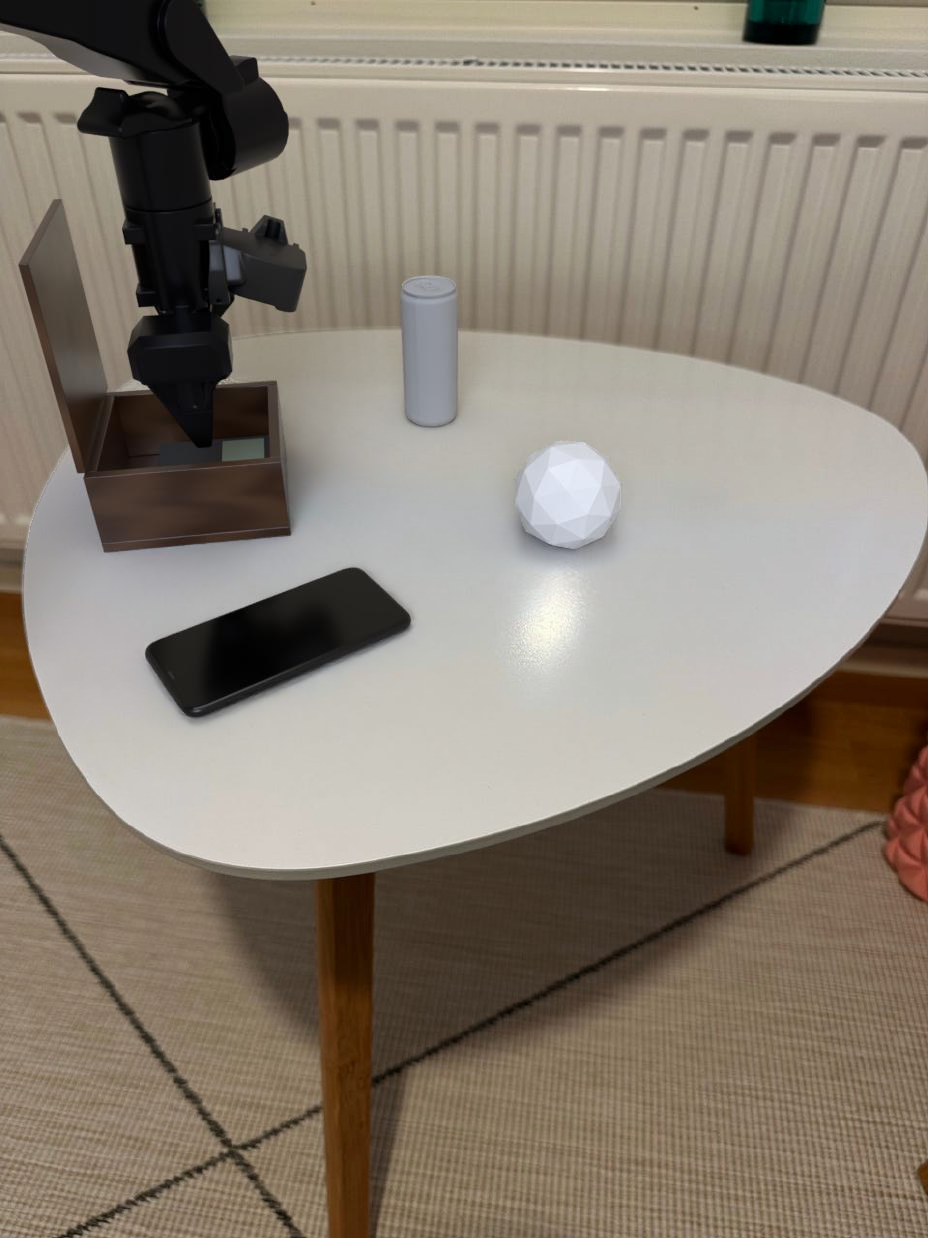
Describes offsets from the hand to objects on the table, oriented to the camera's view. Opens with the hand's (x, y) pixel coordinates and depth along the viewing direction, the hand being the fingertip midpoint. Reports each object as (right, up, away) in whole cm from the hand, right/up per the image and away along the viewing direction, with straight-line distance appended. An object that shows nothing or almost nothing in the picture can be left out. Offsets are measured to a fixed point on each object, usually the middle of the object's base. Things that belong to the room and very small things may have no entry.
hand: (206, 416), depth 73 cm
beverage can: (+16, +3, +15) cm, 23 cm away
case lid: (-8, +5, -5) cm, 11 cm away
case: (-2, -5, +5) cm, 7 cm away
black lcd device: (0, -5, +4) cm, 6 cm away
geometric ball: (+27, -9, 0) cm, 28 cm away
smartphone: (+7, -17, -10) cm, 21 cm away
